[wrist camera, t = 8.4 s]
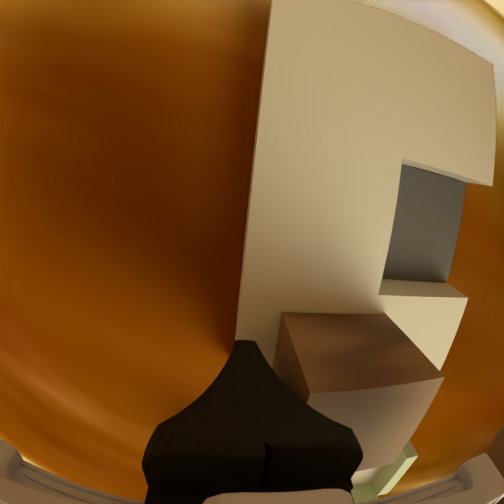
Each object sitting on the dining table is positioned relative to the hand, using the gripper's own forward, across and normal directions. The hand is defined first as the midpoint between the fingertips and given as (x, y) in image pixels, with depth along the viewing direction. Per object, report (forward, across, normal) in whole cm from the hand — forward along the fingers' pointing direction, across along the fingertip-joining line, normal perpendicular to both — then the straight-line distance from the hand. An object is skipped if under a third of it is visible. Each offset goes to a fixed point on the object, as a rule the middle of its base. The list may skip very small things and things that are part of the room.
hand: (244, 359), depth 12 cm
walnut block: (+1, -4, 0) cm, 4 cm away
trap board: (+3, -6, -1) cm, 7 cm away
